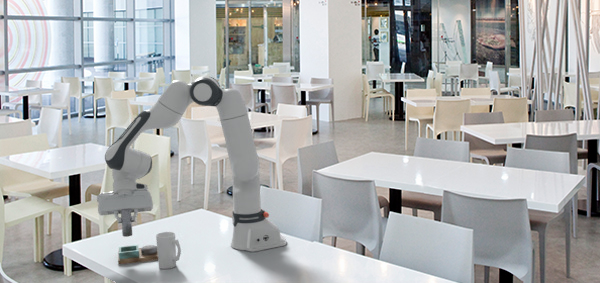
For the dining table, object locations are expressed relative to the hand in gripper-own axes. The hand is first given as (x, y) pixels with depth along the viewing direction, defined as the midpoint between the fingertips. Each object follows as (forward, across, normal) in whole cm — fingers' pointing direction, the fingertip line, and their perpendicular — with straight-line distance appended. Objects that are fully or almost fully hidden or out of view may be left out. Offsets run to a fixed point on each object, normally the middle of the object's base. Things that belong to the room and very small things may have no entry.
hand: (126, 221), depth 215 cm
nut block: (+9, +4, +12) cm, 15 cm away
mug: (+20, +15, +1) cm, 25 cm away
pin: (+3, 0, +4) cm, 5 cm away
